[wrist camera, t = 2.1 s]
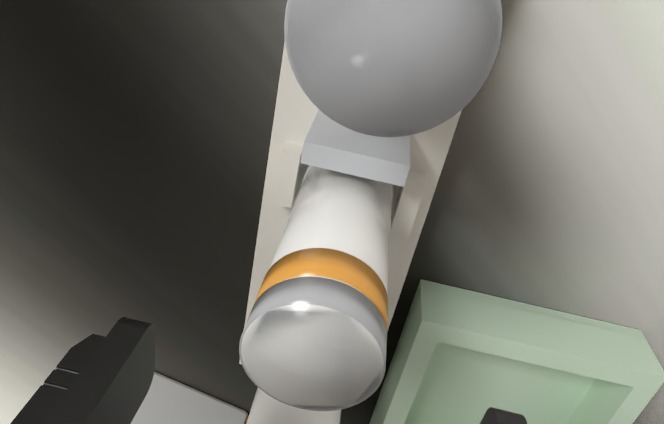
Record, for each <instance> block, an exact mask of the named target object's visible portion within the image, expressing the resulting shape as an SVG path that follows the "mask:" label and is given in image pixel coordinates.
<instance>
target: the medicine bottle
mask: <svg viewBox="0 0 664 424" xmlns="http://www.w3.org/2000/svg"><path fill="white" fill-rule="evenodd" d="M247 419H248V413H247V412H246V411H245V410H243V409H240V408H238V407H236V406H233V405H231V404H229V403H226V402H224V401H222V400H219V399H217V398H215V397H212V396H210V395H208V394H205V393H203V392H201V391H199V390H196V389H194V388H192V387H189V386H187V385H185V384H182V383H180V382H178V381H175V380H173V379H171V378H168V377H166V376H164V375H162V374H159V373H157V372H155V371H154V375H153V379H152V383H151V386H150V388H149V391H148V393H147V395H146V397H145V399H144V400H143V402H142V404H141V406H140V407H139V409H138V411H137V413H136V415H135V416H134V418H133V420H132V422H131V424H246V422H247Z"/></svg>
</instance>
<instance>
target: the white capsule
mask: <svg viewBox="0 0 664 424" xmlns="http://www.w3.org/2000/svg"><path fill="white" fill-rule="evenodd" d="M284 33H285V44H286V50H287V55H288V59H289V62H290V65H291V68H292V71H293V73H294V75H295V77H296V80H297V82H298V83H299V85H300V87H301V88H302V90H303V92H304V93H305V94H306V95H307V97H308V98H309V99H310V101H311V102H312V103H313V104H314V105H315V106H316V107H317V108H318V109H319V110H320V111H321V112H322V113H324V114H325V115H326V116H328V117H329V118H330V119H331V120H333V121H335V122H336V123H338V124H340V125H342V126H344V127H346V128H348V129H350V130H353V131H355V132H359V133H362V134H366V135H371V136H377V137H402V136H408V135H413V134H418V133H421V132H424V131H427V130H430V129H432V128H434V127H436V126H438V125H440V124H442V123H444V122H445V121H447V120H449V119H450V118H452V117H453V116H455V115H456V114H457V113H458V112H460V111H461V110H462V109H463V108H464V107H465V106H466V105H467V104H468V103H469V102H470V101H471V100H472V99H473V98H474V97H475V96H476V94H477V93H478V92H479V90H480V89H481V88H482V86H483V85H484V83H485V81H486V79H487V78H488V76H489V74H490V72H491V70H492V68H493V65H494V63H495V60H496V57H497V54H498V50H499V47H500V41H501V35H502V6H501V0H288V1H287V6H286V11H285V22H284Z"/></svg>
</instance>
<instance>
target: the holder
mask: <svg viewBox="0 0 664 424" xmlns="http://www.w3.org/2000/svg"><path fill="white" fill-rule="evenodd" d="M461 112H462V110H461V111H460V112H458V113H457V114H456V115H455V116H453V117H452V118H450V119H449V120H447V121H445V122H444V123H442V124H440V125H438V126H436V127H434V128H432V129H430V130H427V131H424V132H421V133H418V134H413V135H408V136H402V137H377V136H371V135H366V134H362V133H359V132H355V131H353V130H350V129H348V128H346V127H344V126H342V125H340V124H338V123H336V122H335V121H333V120H331V119H330V118H329V117H328V116H326V115H325V114H324V113H322V112H321V111H320V110H319V109H318V108H317V107H316V106H315V105H314V104H313V103H312V102H311V101H310V99H309V98H308V97H307V95H306V94H305V93H304V92H303V90H302V88H301V87H300V85H299V83H298V82H297V80H296V77H295V75H294V73H293V71H292V68H291V65H290V62H289V59H288V55H287V50H286V44H285V43H284V50H283V58H282V65H281V72H280V79H279V86H278V93H277V100H276V107H275V114H274V121H273V128H272V135H271V142H270V149H269V156H268V163H267V171H266V178H265V185H264V192H263V199H262V206H261V213H260V220H259V227H258V234H257V241H256V248H255V255H254V262H253V269H252V276H251V284H250V291H249V298H248V305H247V312H246V319H245V325H246V323H247V320H248V318H249V315H250V313H251V310H252V307H253V305H254V302H255V300H256V297H257V295H258V292H259V290H260V287H261V285H262V282H263V280H264V277H265V275H266V273H267V272H268V270H269V269H270V266H271V264H272V261H273V258H274V256H275V253H276V251H277V248H278V246H279V243H280V240H281V238H282V235H283V233H284V230H285V228H286V225H287V222H288V220H289V217H290V215H291V212H292V209H293V207H294V204H295V202H296V199H297V197H298V194H299V191H300V189H301V186H302V181H303V178H304V175H305V173H306V170H307V167H308V165H311V166H315V167H319V168H324V169H328V170H332V171H337V172H341V173H345V174H350V175H354V176H358V177H363V178H367V179H371V180H376V181H380V182H385V183H389V184H393V185H394V189H393V202H392V206H391V225H390V246H389V266H388V287H387V295H388V325H387V332H388V329H389V326H390V323H391V320H392V317H393V314H394V311H395V308H396V305H397V302H398V299H399V296H400V293H401V290H402V287H403V284H404V281H405V278H406V275H407V272H408V269H409V266H410V263H411V260H412V257H413V254H414V251H415V248H416V245H417V243H418V240H419V237H420V234H421V231H422V228H423V225H424V222H425V219H426V216H427V213H428V210H429V207H430V204H431V201H432V198H433V195H434V192H435V189H436V186H437V183H438V180H439V177H440V174H441V171H442V168H443V165H444V162H445V159H446V156H447V153H448V150H449V147H450V144H451V141H452V138H453V135H454V132H455V129H456V126H457V123H458V121H459V118H460V115H461ZM244 328H245V326H244ZM239 364H242V363H241V360H240V361H239Z"/></svg>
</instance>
